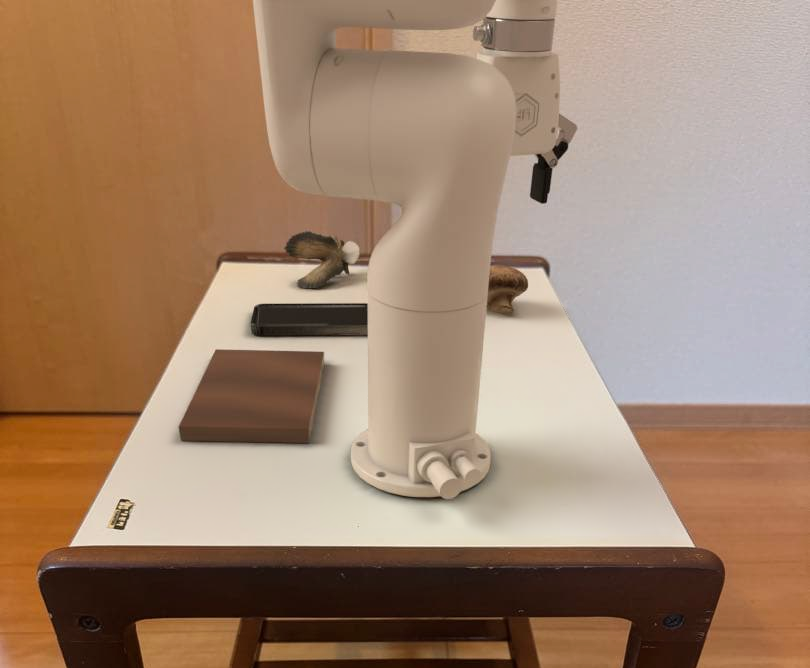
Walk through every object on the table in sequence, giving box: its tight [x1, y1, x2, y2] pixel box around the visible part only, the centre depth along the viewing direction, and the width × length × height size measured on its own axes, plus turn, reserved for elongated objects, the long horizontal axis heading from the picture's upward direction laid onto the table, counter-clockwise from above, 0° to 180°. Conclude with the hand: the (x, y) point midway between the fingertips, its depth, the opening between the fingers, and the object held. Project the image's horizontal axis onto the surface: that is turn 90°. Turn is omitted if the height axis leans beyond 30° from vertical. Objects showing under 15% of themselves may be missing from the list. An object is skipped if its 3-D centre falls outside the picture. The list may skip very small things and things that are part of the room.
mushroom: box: [487, 264, 529, 314], centre depth 102 cm, size 8×8×6 cm
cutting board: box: [178, 348, 325, 444], centre depth 80 cm, size 18×12×2 cm, turn 0°
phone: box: [250, 302, 368, 336], centre depth 97 cm, size 8×1×15 cm
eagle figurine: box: [283, 230, 361, 289], centre depth 110 cm, size 8×7×9 cm
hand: (503, 203), depth 96 cm, fingers open, 9 cm apart
